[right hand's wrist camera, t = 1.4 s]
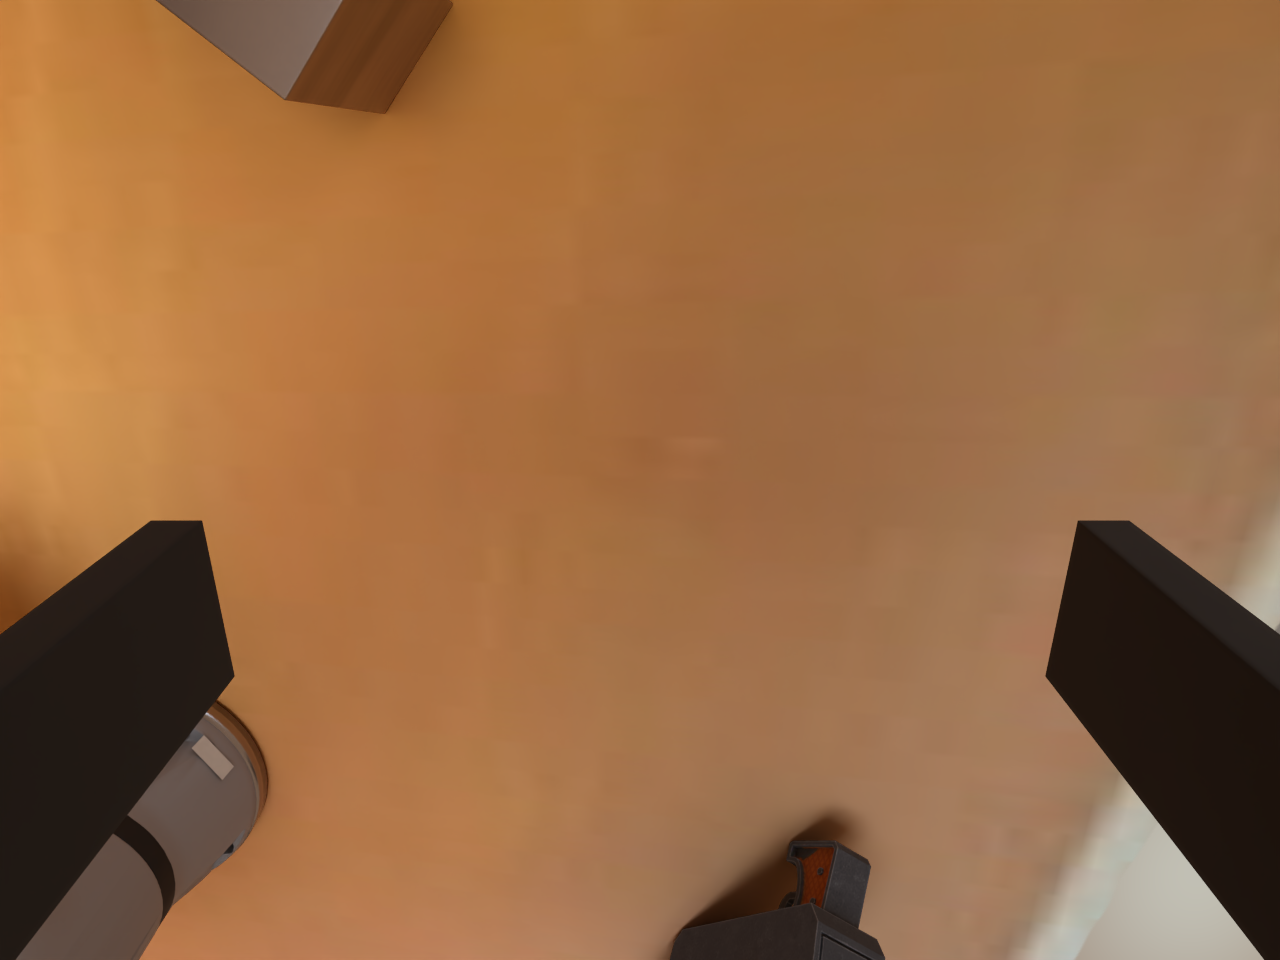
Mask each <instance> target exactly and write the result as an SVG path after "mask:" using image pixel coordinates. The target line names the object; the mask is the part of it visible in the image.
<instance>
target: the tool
mask: <svg viewBox="0 0 1280 960" xmlns="http://www.w3.org/2000/svg"><path fill="white" fill-rule="evenodd" d="M786 861H788V862H790V863H791V864H793V865H795V866H796V867H797V881H798V882H797V891H796V892H790V893H788V894H787V895H786V896H785V897H784V898H783V900H782V901H781V903H780V906H779V909H778V910H773V911H768V912H764V913H759V914H754V915H749V916H745V917H740V918H735V919H730V920H725V921H721V922H716V923H711V924H706V925H702V926H697V927H692V928H687V929H683V930H682V931H681V933H680V934H679V936H678V937H677V939H676V940H675V942H674V946H673V950H672V953H671V957H670V960H885V956H884V954H883V952H882V950H881V948H880V945H879V943H878V941H877V939H875V938H874V937H872V936H870V935H868V934H866V933H865V932H863V931H861V930H859V929H858V927H859V923H860V918H861V913H862V908H863V903H864V898H865V893H866V888H867V883H868V878H869V874H870V869H871V866H870V864H869V862H868V860H867V859H866V858H864V857H862V856H861V855H859V854H857V853H855V852H854V851H852V850H850V849H849V848H847V847H845V846H843V845H842V844H840V843H838V842H837V841H792V842H791V843H790V846H789V850H788V855H787V859H786ZM792 905H793V906H792Z"/></svg>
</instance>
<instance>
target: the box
mask: <svg viewBox="0 0 1280 960" xmlns="http://www.w3.org/2000/svg"><path fill="white" fill-rule="evenodd" d="M156 1H158V2H159V3H160V4H161V5H163V6H164V7H165V8H167V9H168V10H169V11H170V12H172V13H173V14H174V15H176V16H177V17H178V18H179V19H181V20H182V21H183V22H185V23H186V24H187V25H188V26H190V27H191V28H192V29H194V30H195V31H196V32H197V33H199V34H200V35H201V36H203V37H204V38H205V39H206V40H208V41H209V42H210V43H212V44H213V45H214V46H216V47H217V48H218V49H219V50H221V51H222V52H223V53H225V54H226V55H227V56H228V57H230V58H231V59H232V60H234V61H235V62H236V63H237V64H239V65H240V66H241V67H243V68H244V69H245V70H246V71H248V72H249V73H250V74H252V75H253V76H254V77H255V78H257V79H258V80H259V81H261V82H262V83H263V84H264V85H266V86H267V87H268V88H270V89H271V90H272V91H274V92H275V93H276V94H277V95H279V96H280V97H281V98H283V99H284V100H288V101H295V102H302V103H310V104H317V105H324V106H331V107H338V108H346V109H353V110H360V111H367V112H374V113H381V114H385V112H386V111H387V109H388V107H389V106H390V104H391V103H392V101H393V99H394V98H395V96H396V95H397V93H398V91H399V90H400V88H401V87H402V85H403V83H404V82H405V80H406V79H407V77H408V75H409V74H410V72H411V71H412V69H413V67H414V66H415V64H416V63H417V61H418V59H419V58H420V56H421V55H422V53H423V51H424V50H425V48H426V47H427V45H428V44H429V42H430V40H431V39H432V37H433V36H434V34H435V32H436V31H437V29H438V28H439V26H440V24H441V23H442V21H443V20H444V18H445V16H446V15H447V13H448V12H449V10H450V8H451V7H452V5H453V4H452V2H450V1H449V0H156Z"/></svg>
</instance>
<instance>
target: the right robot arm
mask: <svg viewBox="0 0 1280 960" xmlns="http://www.w3.org/2000/svg"><path fill="white" fill-rule="evenodd" d="M233 678H234V671H233V666H232V662H231V657H230V652H229V647H228V643H227V638H226V633H225V628H224V623H223V619H222V614H221V609H220V604H219V599H218V595H217V590H216V585H215V580H214V576H213V571H212V566H211V561H210V556H209V552H208V547H207V542H206V537H205V532H204V528H203V523H202V521H150V522H148V523H147V524H146V525H145V526H143V527H142V528H141V529H139V530H138V531H137V532H135V533H134V534H133V535H131V536H130V537H129V538H127V539H126V540H125V541H123V542H122V543H121V544H119V545H118V546H117V547H115V548H114V549H113V550H111V551H110V552H109V553H107V554H106V555H105V556H104V557H102V558H101V559H100V560H98V561H97V562H96V563H94V564H93V565H92V566H90V567H89V568H88V569H86V570H85V571H84V572H82V573H81V574H80V575H78V576H77V577H76V578H74V579H73V580H72V581H70V582H69V583H68V584H66V585H65V586H64V587H63V588H61V589H60V590H59V591H57V592H56V593H55V594H53V595H52V596H51V597H49V598H48V599H47V600H45V601H44V602H43V603H41V604H40V605H39V606H37V607H36V608H35V609H33V610H32V611H31V612H29V613H28V614H27V615H25V616H24V617H23V618H21V619H20V620H19V621H18V622H16V623H15V624H14V625H12V626H11V627H10V628H8V629H7V630H6V631H4V632H3V633H2V634H0V960H139V959H140V957H141V955H142V954H143V952H144V951H145V949H146V947H147V946H148V944H149V942H150V941H151V939H152V937H153V936H154V934H155V932H156V931H157V929H158V927H159V926H160V924H161V922H162V921H163V919H164V918H165V916H166V915H167V913H168V911H169V910H170V908H171V907H172V905H174V904H175V903H176V902H177V901H178V900H179V899H181V898H182V897H183V896H184V895H185V894H187V893H188V892H189V891H190V890H191V889H192V888H194V887H195V886H196V885H197V884H198V883H199V882H200V881H202V880H203V879H204V878H205V877H206V876H207V875H208V874H209V873H210V871H211V870H213V869H214V868H216V867H218V866H219V865H220V864H222V863H223V862H224V861H225V860H226V859H228V858H229V857H230V856H231V855H232V854H233V853H234V852H235V851H236V850H237V849H238V848H239V847H240V846H241V845H242V844H243V842H244V841H245V840H246V838H247V837H248V835H249V834H250V832H251V830H252V828H253V827H254V825H255V823H256V821H257V820H258V818H259V816H260V814H261V812H262V810H263V807H264V804H265V800H266V796H267V775H266V769H265V766H264V762H263V759H262V757H261V754H260V752H259V750H258V748H257V746H256V744H255V742H254V741H253V739H252V738H251V736H250V735H249V733H248V732H247V731H246V730H245V728H244V727H243V726H242V725H241V724H240V723H239V722H238V721H237V720H236V719H235V717H233V716H232V715H231V714H230V713H229V712H228V711H227V710H225V709H224V708H223V707H221V706H220V705H219V704H217V703H216V702H215V701H216V700H217V698H218V697H219V696H220V694H221V693H222V692H223V691H224V689H225V688H226V687H227V685H228V684H229V683H230V681H231V680H232V679H233ZM1046 678H1047V679H1048V680H1049V681H1050V683H1051V684H1052V685H1053V687H1054V688H1055V689H1056V691H1057V692H1058V693H1059V694H1060V696H1061V697H1062V698H1063V700H1064V701H1065V702H1066V703H1067V705H1068V706H1069V707H1070V709H1071V710H1072V711H1073V713H1074V714H1075V715H1076V716H1077V718H1078V719H1079V720H1080V722H1081V723H1082V724H1083V725H1084V727H1085V728H1086V729H1087V731H1088V732H1089V733H1090V735H1091V736H1092V737H1093V738H1094V740H1095V741H1096V742H1097V744H1098V745H1099V746H1100V748H1101V749H1102V750H1103V751H1104V753H1105V754H1106V755H1107V757H1108V758H1109V759H1110V760H1111V762H1112V763H1113V764H1114V766H1115V767H1116V768H1117V770H1118V771H1119V772H1120V773H1121V775H1122V776H1123V777H1124V779H1125V780H1126V781H1127V782H1128V784H1129V785H1130V786H1131V788H1132V789H1133V790H1134V792H1135V793H1136V794H1137V795H1138V797H1139V798H1140V799H1141V801H1142V802H1143V803H1144V804H1145V806H1146V807H1147V808H1148V810H1149V811H1150V812H1151V814H1152V815H1153V816H1154V817H1155V819H1156V820H1157V821H1158V823H1159V824H1160V825H1161V826H1162V828H1163V829H1164V830H1165V832H1166V833H1167V834H1168V836H1169V837H1170V838H1171V839H1172V841H1173V842H1174V843H1175V845H1176V846H1177V847H1178V849H1179V850H1180V851H1181V852H1182V854H1183V855H1184V856H1185V858H1186V859H1187V860H1188V861H1189V863H1190V864H1191V865H1192V867H1193V868H1194V869H1195V871H1196V872H1197V873H1198V874H1199V876H1200V877H1201V878H1202V880H1203V881H1204V882H1205V884H1206V885H1207V886H1208V887H1209V889H1210V890H1211V891H1212V893H1213V894H1214V895H1215V896H1216V898H1217V899H1218V900H1219V902H1220V903H1221V904H1222V906H1223V907H1224V908H1225V909H1226V911H1227V912H1228V913H1229V915H1230V916H1231V917H1232V918H1233V920H1234V921H1235V922H1236V924H1237V925H1238V926H1239V928H1240V929H1241V930H1242V931H1243V933H1244V934H1245V935H1246V937H1247V938H1248V939H1249V940H1250V942H1251V943H1252V944H1253V946H1254V947H1255V948H1256V950H1257V951H1258V952H1259V953H1260V955H1261V956H1262V957H1263V959H1264V960H1280V634H1278V633H1277V632H1276V631H1274V630H1273V629H1272V628H1270V627H1269V626H1268V625H1266V624H1265V623H1264V622H1262V621H1261V620H1260V619H1259V618H1257V617H1256V616H1255V615H1253V614H1252V613H1251V612H1249V611H1248V610H1247V609H1245V608H1244V607H1243V606H1241V605H1240V604H1239V603H1237V602H1236V601H1235V600H1233V599H1232V598H1231V597H1229V596H1228V595H1227V594H1225V593H1224V592H1223V591H1221V590H1220V589H1219V588H1217V587H1216V586H1215V585H1214V584H1212V583H1211V582H1210V581H1208V580H1207V579H1206V578H1204V577H1203V576H1202V575H1200V574H1199V573H1198V572H1196V571H1195V570H1194V569H1192V568H1191V567H1190V566H1188V565H1187V564H1186V563H1184V562H1183V561H1182V560H1180V559H1179V558H1178V557H1176V556H1175V555H1174V554H1173V553H1171V552H1170V551H1169V550H1167V549H1166V548H1165V547H1163V546H1162V545H1161V544H1159V543H1158V542H1157V541H1155V540H1154V539H1153V538H1151V537H1150V536H1149V535H1147V534H1146V533H1145V532H1143V531H1142V530H1141V529H1139V528H1138V527H1137V526H1135V525H1134V524H1133V523H1131V522H1130V521H1078V523H1077V528H1076V532H1075V537H1074V542H1073V547H1072V552H1071V556H1070V561H1069V566H1068V571H1067V576H1066V580H1065V585H1064V590H1063V595H1062V599H1061V604H1060V609H1059V614H1058V619H1057V623H1056V628H1055V633H1054V638H1053V643H1052V647H1051V652H1050V657H1049V662H1048V666H1047V671H1046Z"/></svg>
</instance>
